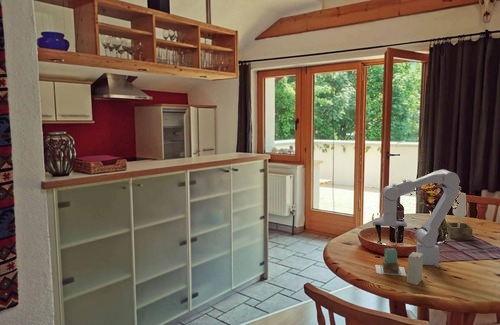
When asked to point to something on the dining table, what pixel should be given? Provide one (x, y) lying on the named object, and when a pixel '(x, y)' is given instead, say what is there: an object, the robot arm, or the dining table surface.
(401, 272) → the grey flat slab
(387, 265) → the walnut block
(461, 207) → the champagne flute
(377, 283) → the dining table surface
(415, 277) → the skincare box
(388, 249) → the teal block
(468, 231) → the olive brown open box
